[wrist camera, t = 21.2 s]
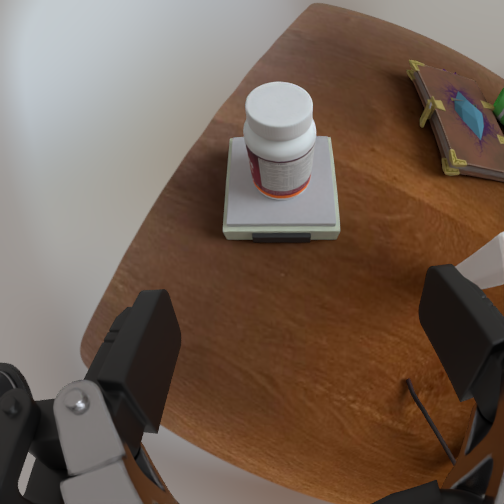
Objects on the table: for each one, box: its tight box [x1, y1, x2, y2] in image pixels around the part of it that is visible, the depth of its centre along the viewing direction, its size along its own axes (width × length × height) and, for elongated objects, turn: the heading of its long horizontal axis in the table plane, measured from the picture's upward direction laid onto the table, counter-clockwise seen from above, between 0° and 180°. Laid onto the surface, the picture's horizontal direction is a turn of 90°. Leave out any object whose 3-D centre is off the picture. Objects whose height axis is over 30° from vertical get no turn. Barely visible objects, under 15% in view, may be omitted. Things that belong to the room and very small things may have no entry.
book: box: [406, 60, 504, 182], centre depth 34 cm, size 16×25×5 cm, turn 178°
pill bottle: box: [243, 82, 316, 200], centre depth 26 cm, size 6×6×11 cm
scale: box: [223, 136, 340, 242], centre depth 33 cm, size 12×12×3 cm
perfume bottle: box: [455, 232, 504, 289], centre depth 22 cm, size 5×4×15 cm
